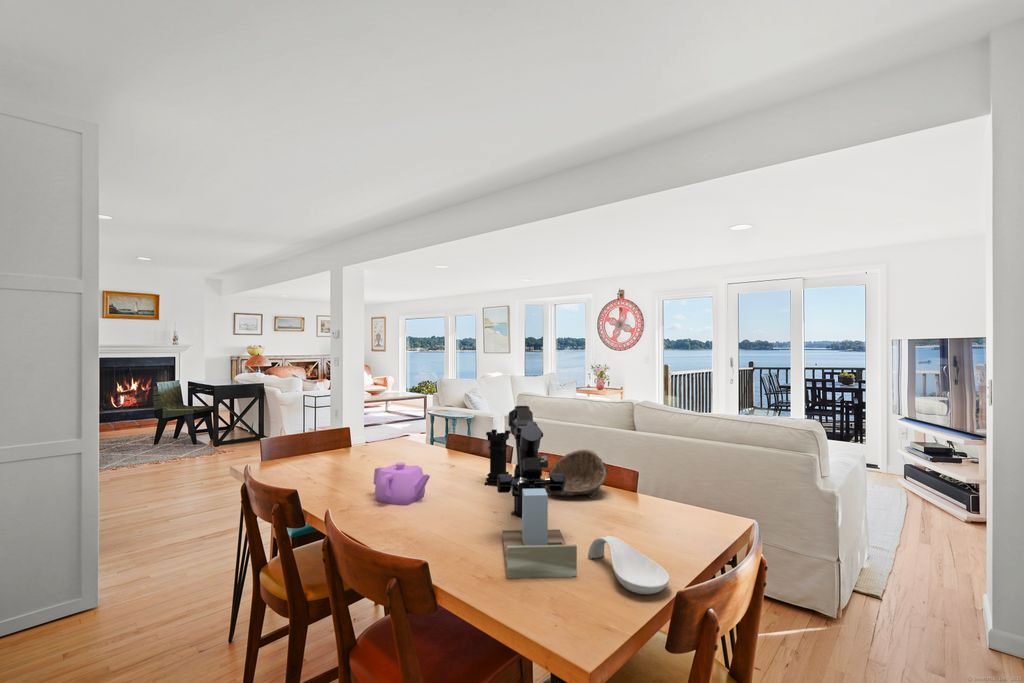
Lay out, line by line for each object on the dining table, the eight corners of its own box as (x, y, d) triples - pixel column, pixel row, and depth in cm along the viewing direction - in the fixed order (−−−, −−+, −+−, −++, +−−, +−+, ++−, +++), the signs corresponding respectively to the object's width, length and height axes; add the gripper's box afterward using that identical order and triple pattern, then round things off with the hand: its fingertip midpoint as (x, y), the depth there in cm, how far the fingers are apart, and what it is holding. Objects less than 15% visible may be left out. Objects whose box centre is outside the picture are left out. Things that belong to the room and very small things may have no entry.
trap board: (502, 537, 138) (502, 512, 138) (559, 536, 139) (559, 511, 139) (507, 578, 114) (507, 547, 114) (576, 576, 115) (576, 546, 115)
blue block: (522, 537, 133) (522, 488, 133) (544, 537, 133) (544, 488, 133) (524, 546, 127) (524, 495, 127) (547, 546, 127) (547, 495, 127)
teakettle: (371, 494, 177) (371, 460, 177) (418, 489, 184) (419, 456, 184) (379, 509, 161) (379, 471, 161) (430, 503, 168) (431, 466, 168)
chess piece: (511, 481, 195) (511, 430, 195) (504, 487, 187) (504, 433, 187) (492, 479, 197) (492, 429, 197) (484, 485, 190) (484, 432, 190)
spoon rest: (681, 595, 107) (681, 561, 107) (638, 607, 102) (638, 572, 102) (612, 553, 129) (612, 525, 129) (574, 562, 123) (574, 533, 123)
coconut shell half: (552, 505, 167) (618, 480, 172) (534, 464, 176) (598, 441, 181) (550, 520, 179) (612, 496, 184) (533, 481, 188) (593, 459, 193)
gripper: (498, 445, 138) (499, 497, 127) (564, 444, 140) (571, 496, 129) (496, 467, 146) (498, 517, 135) (559, 466, 147) (566, 516, 136)
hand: (533, 511), depth 134 cm, fingers closed
